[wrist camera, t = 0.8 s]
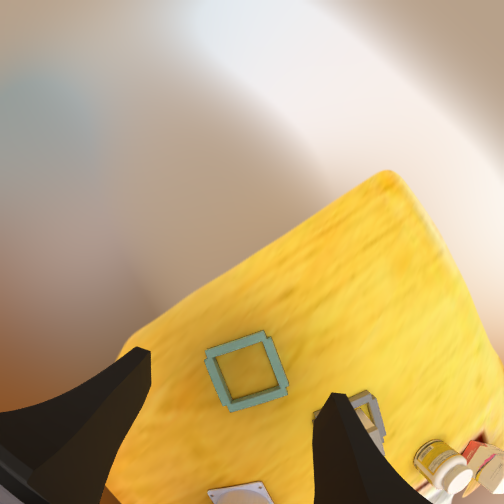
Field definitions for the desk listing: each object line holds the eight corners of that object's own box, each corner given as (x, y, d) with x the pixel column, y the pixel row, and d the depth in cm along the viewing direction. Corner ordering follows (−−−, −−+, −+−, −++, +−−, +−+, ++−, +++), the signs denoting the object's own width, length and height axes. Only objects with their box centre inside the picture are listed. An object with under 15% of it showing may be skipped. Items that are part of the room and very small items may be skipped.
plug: (367, 431, 29) (385, 455, 22) (337, 444, 29) (350, 471, 22) (360, 407, 29) (378, 428, 23) (329, 420, 29) (341, 445, 23)
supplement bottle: (439, 462, 26) (469, 490, 16) (409, 471, 26) (437, 504, 17) (446, 434, 27) (482, 459, 17) (417, 443, 27) (449, 473, 18)
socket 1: (291, 389, 31) (292, 393, 29) (228, 409, 31) (226, 413, 29) (267, 328, 32) (267, 329, 31) (203, 350, 32) (200, 352, 31)
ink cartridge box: (453, 464, 26) (501, 503, 11) (470, 438, 26) (524, 471, 12) (479, 468, 24) (523, 500, 10) (494, 444, 25) (543, 471, 10)
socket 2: (384, 435, 28) (387, 440, 27) (327, 460, 28) (329, 465, 27) (370, 388, 30) (374, 391, 28) (309, 413, 30) (311, 418, 28)
